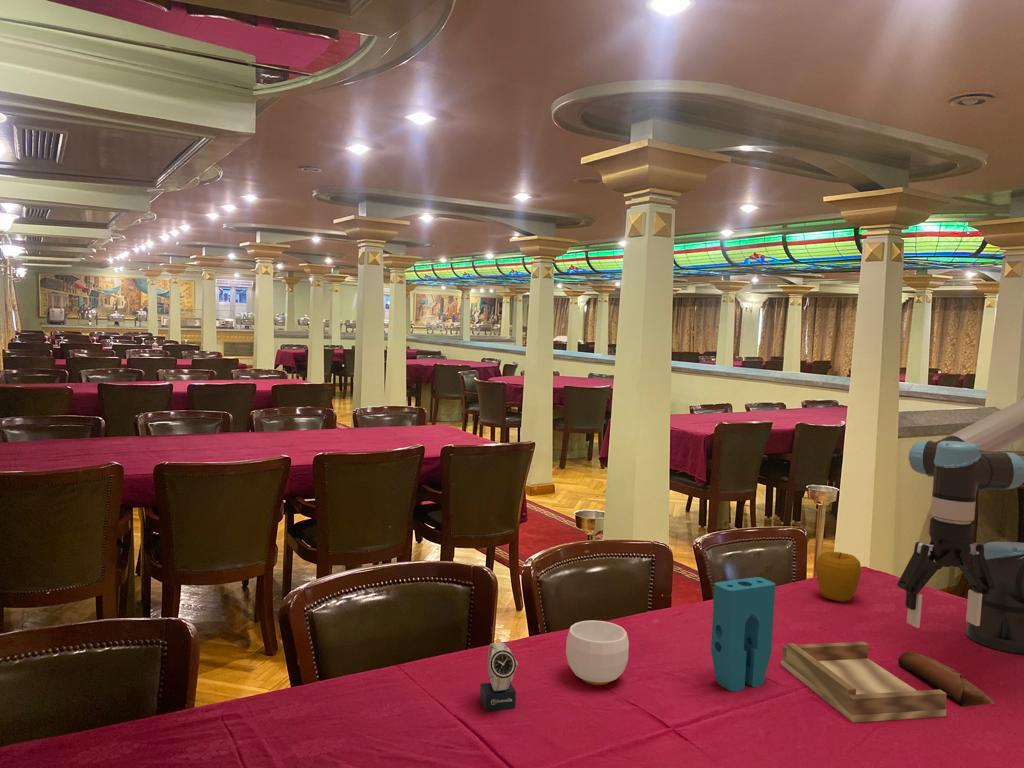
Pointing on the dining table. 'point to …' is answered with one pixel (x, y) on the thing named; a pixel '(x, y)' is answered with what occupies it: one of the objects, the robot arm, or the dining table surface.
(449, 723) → the dining table surface
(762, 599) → the block
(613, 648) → the cup
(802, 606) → the dining table surface
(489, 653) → the watch
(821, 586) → the apple
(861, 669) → the rail board
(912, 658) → the sunglasses case
